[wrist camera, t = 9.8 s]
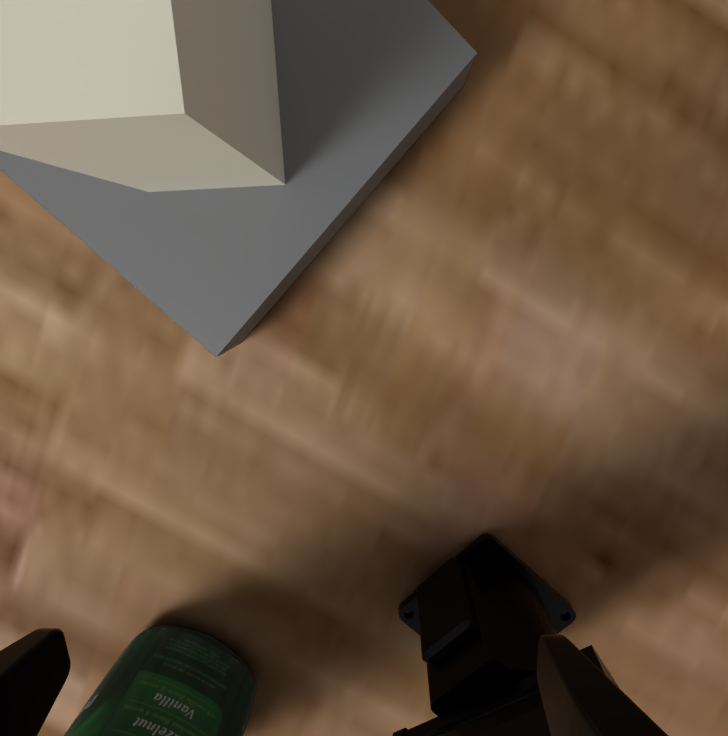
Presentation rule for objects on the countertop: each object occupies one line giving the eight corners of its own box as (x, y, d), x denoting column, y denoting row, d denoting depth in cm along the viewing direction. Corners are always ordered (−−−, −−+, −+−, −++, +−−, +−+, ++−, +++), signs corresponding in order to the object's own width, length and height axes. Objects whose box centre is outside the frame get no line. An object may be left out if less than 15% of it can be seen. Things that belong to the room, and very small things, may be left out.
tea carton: (285, 184, 16) (184, 113, 8) (149, 192, 16) (-74, 130, 8) (269, -14, 14) (130, -332, 7) (120, -1, 15) (-179, -292, 7)
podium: (462, 87, 17) (476, 53, 15) (240, 343, 20) (215, 357, 17) (226, -163, 16) (189, -257, 13) (24, 152, 19) (-43, 132, 16)
